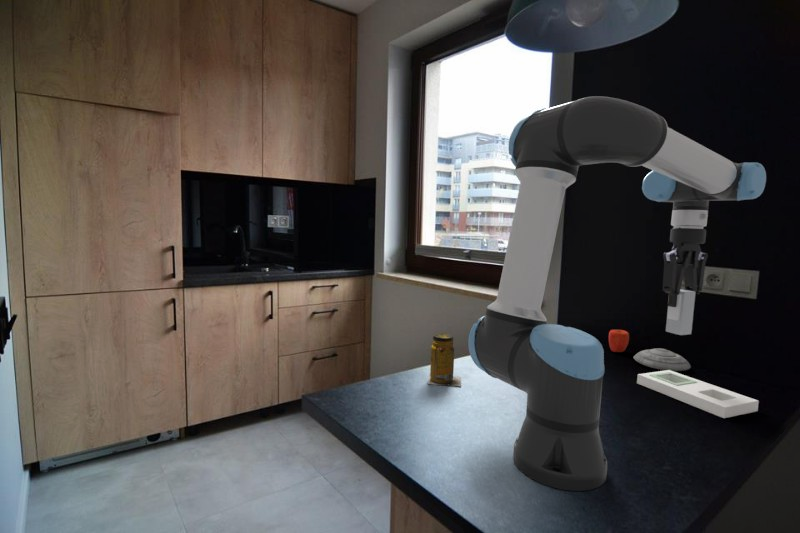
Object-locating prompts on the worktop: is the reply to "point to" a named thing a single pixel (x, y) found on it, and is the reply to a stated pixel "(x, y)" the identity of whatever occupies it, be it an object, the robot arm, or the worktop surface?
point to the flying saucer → (662, 360)
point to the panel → (698, 393)
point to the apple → (618, 340)
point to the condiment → (443, 361)
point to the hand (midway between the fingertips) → (679, 318)
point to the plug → (683, 315)
